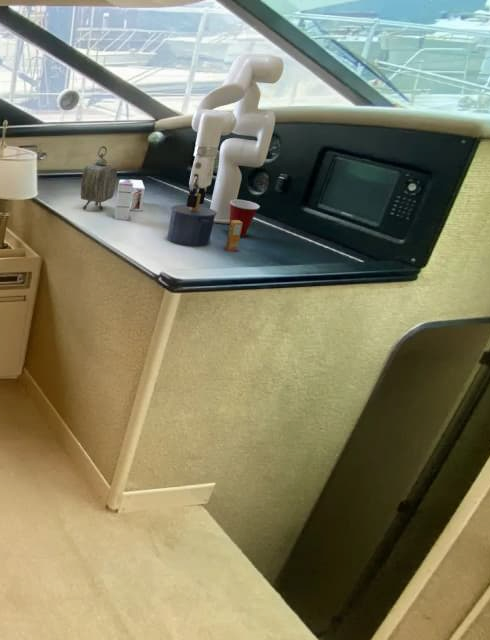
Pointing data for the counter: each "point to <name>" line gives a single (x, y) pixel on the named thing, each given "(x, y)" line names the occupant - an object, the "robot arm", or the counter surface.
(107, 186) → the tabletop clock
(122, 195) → the syrup box
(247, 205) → the plastic cup
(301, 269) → the counter surface
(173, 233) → the pot
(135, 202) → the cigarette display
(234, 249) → the supplement box
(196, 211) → the lid
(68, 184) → the counter surface
